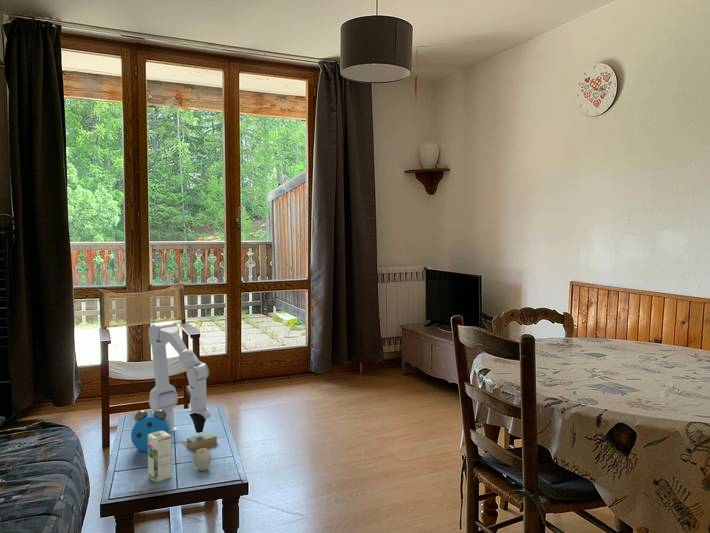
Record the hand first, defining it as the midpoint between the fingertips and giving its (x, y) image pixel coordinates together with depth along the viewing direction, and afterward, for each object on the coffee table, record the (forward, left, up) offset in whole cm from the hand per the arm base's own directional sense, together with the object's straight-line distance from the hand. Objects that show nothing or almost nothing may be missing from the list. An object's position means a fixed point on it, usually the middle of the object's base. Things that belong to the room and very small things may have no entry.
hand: (199, 432), depth 201 cm
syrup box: (+16, -22, -5) cm, 28 cm away
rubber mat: (0, 0, -5) cm, 5 cm away
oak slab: (-1, 0, -3) cm, 3 cm away
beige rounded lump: (+20, -8, -5) cm, 23 cm away
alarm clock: (-7, -15, -5) cm, 18 cm away
